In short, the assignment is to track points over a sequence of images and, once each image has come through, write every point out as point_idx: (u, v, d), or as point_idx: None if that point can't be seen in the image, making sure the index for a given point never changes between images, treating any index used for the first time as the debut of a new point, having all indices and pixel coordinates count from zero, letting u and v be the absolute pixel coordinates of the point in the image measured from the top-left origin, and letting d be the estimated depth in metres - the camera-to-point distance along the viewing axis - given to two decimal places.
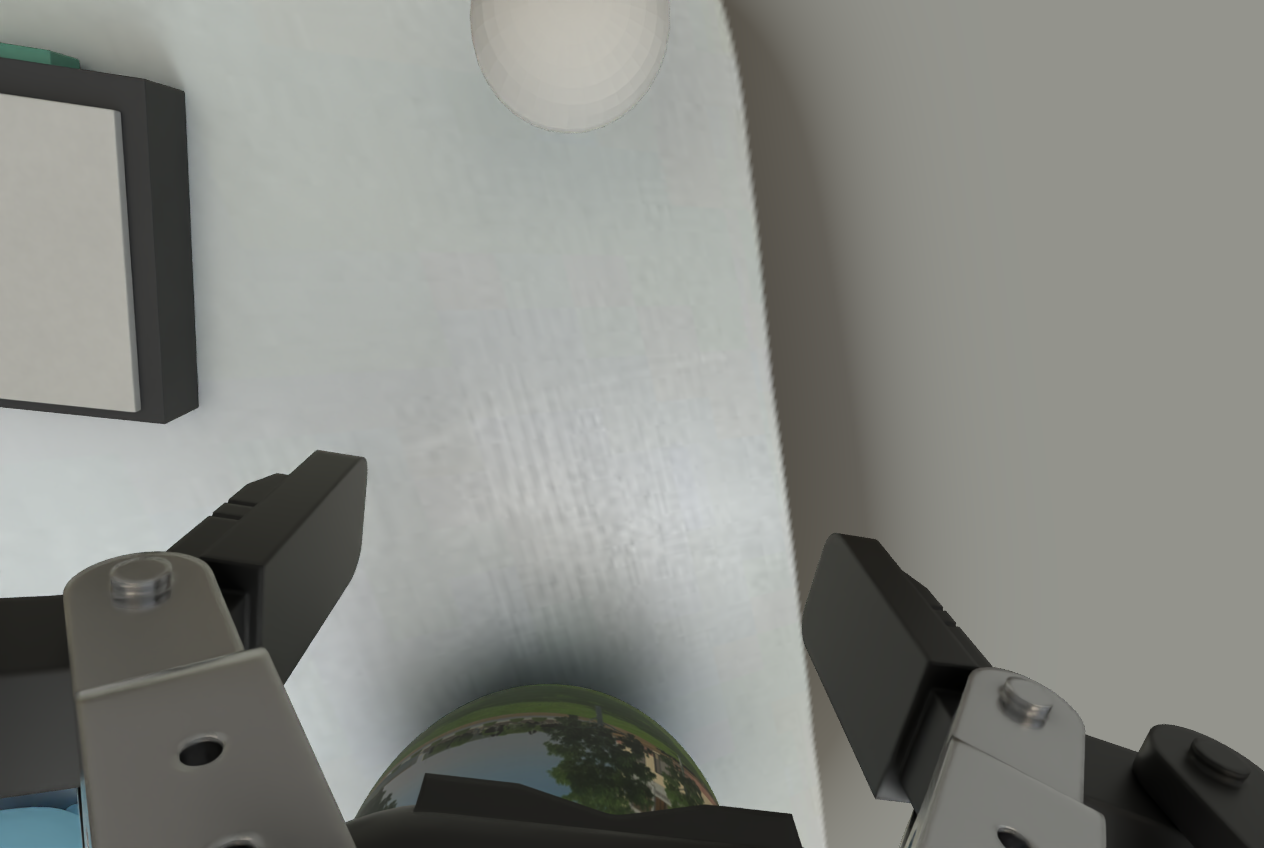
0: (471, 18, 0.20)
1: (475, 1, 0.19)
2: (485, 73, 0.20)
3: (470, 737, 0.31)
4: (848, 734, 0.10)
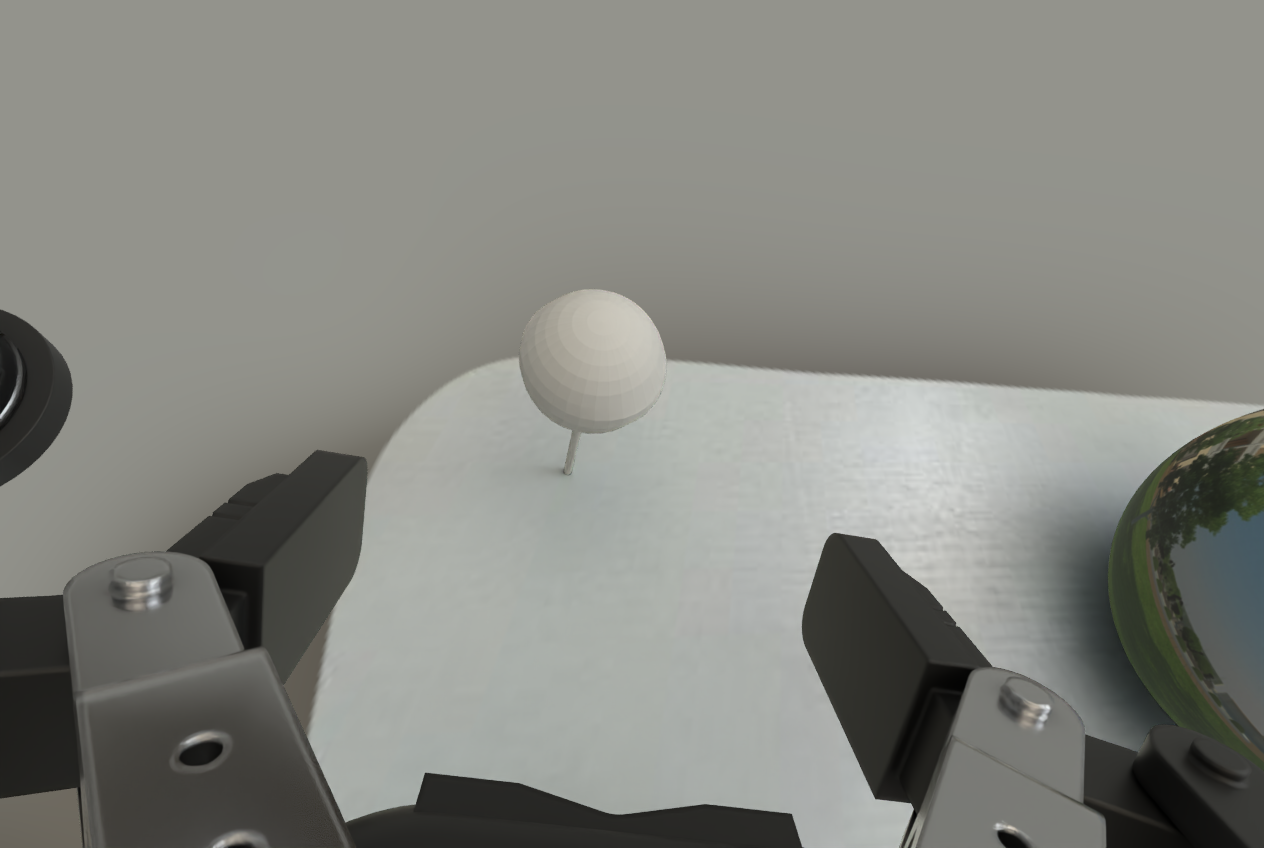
0: (583, 415, 0.26)
1: (576, 404, 0.26)
2: (620, 417, 0.26)
3: (1186, 629, 0.30)
4: (848, 734, 0.10)
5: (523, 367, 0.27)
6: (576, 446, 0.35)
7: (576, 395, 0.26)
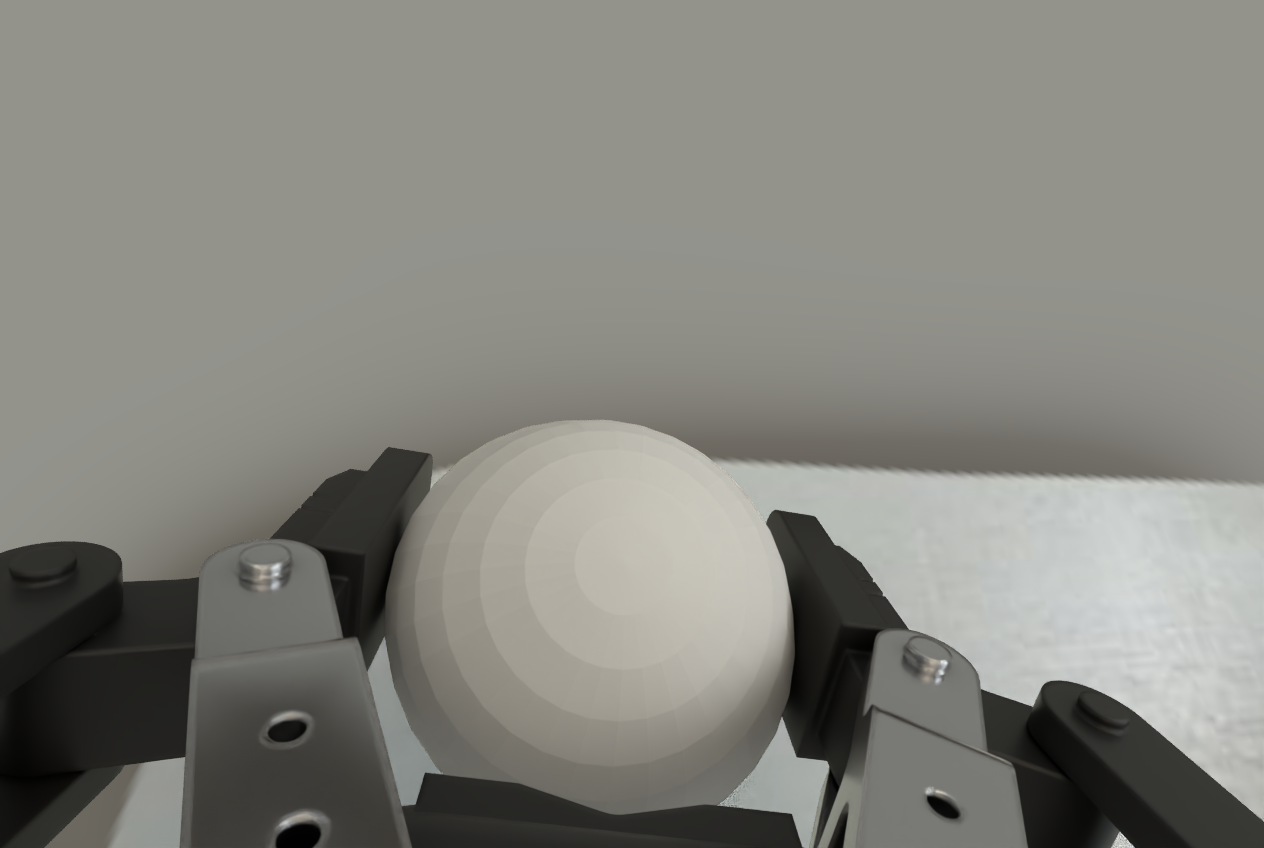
0: None
1: None
2: None
3: None
4: None
5: None
6: None
7: None
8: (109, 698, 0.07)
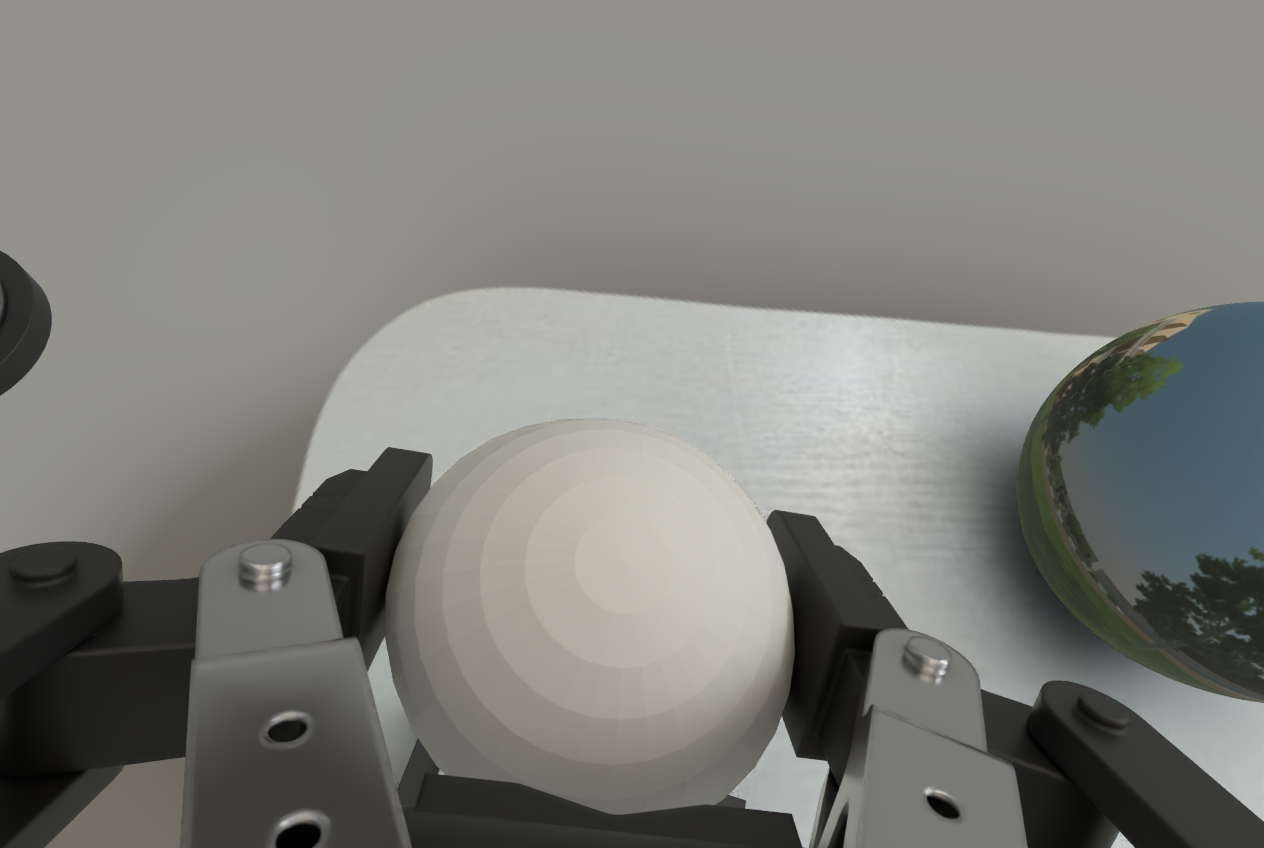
0: None
1: None
2: None
3: (1070, 515, 0.33)
4: None
5: (390, 663, 0.09)
6: None
7: None
8: (109, 698, 0.07)
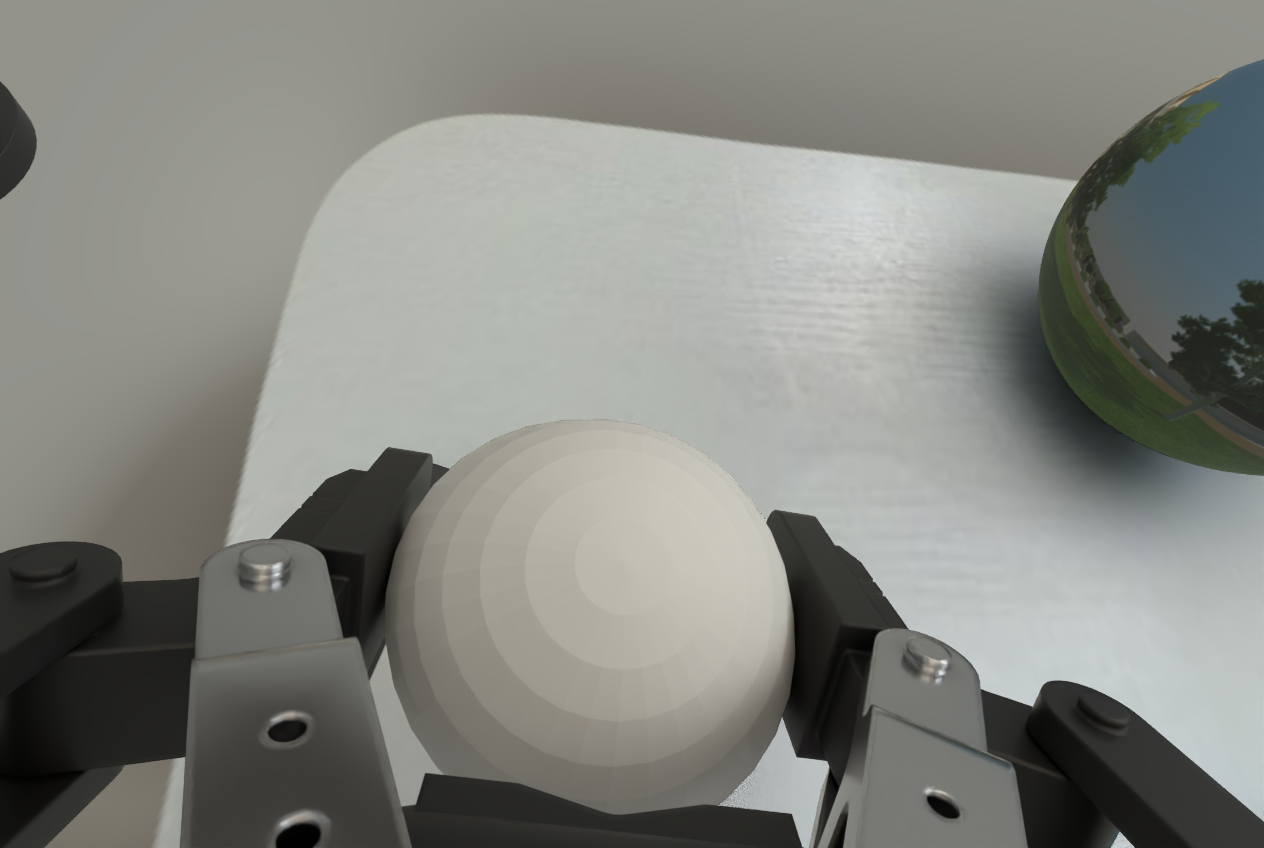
0: None
1: None
2: None
3: (1098, 282, 0.31)
4: None
5: None
6: None
7: None
8: (110, 698, 0.07)
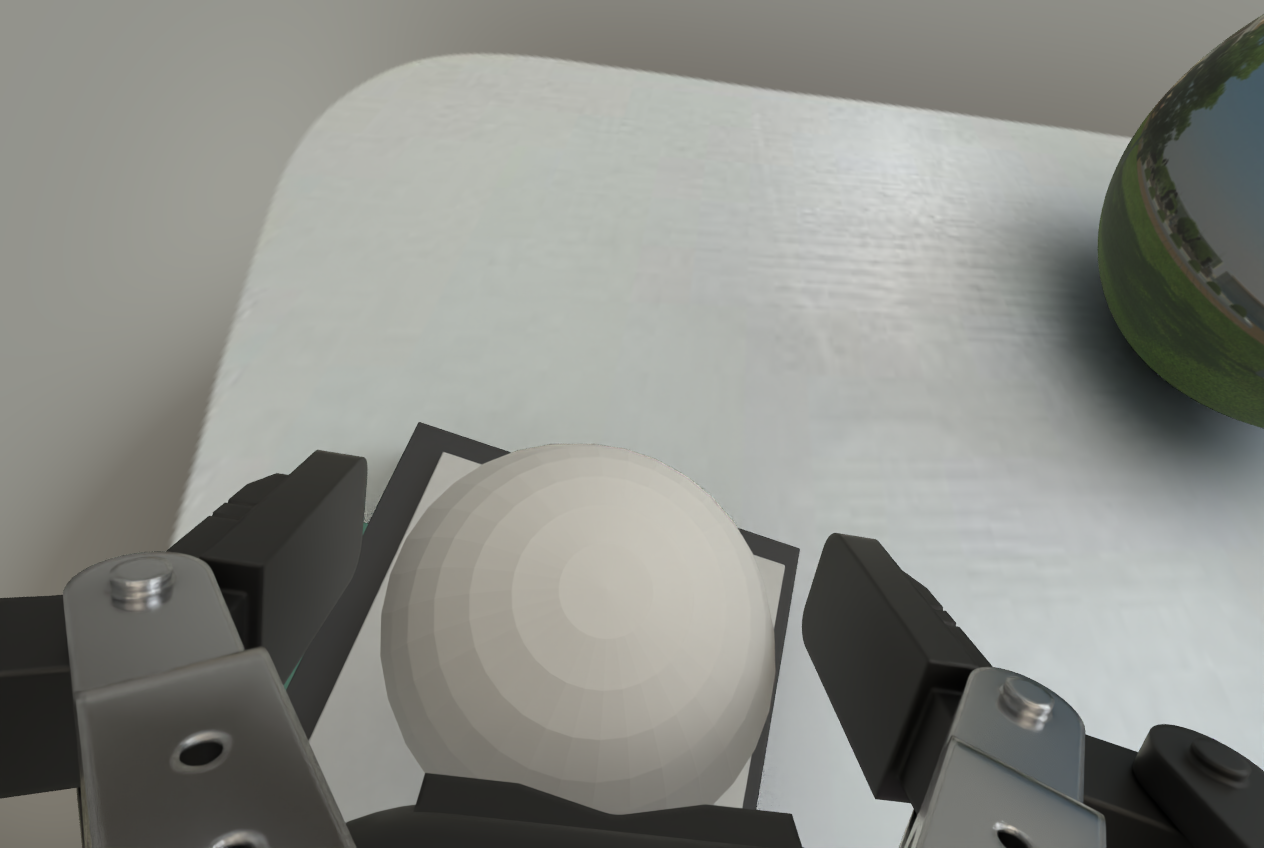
0: None
1: None
2: None
3: (1182, 220, 0.28)
4: (848, 735, 0.10)
5: (385, 682, 0.10)
6: None
7: None
8: None
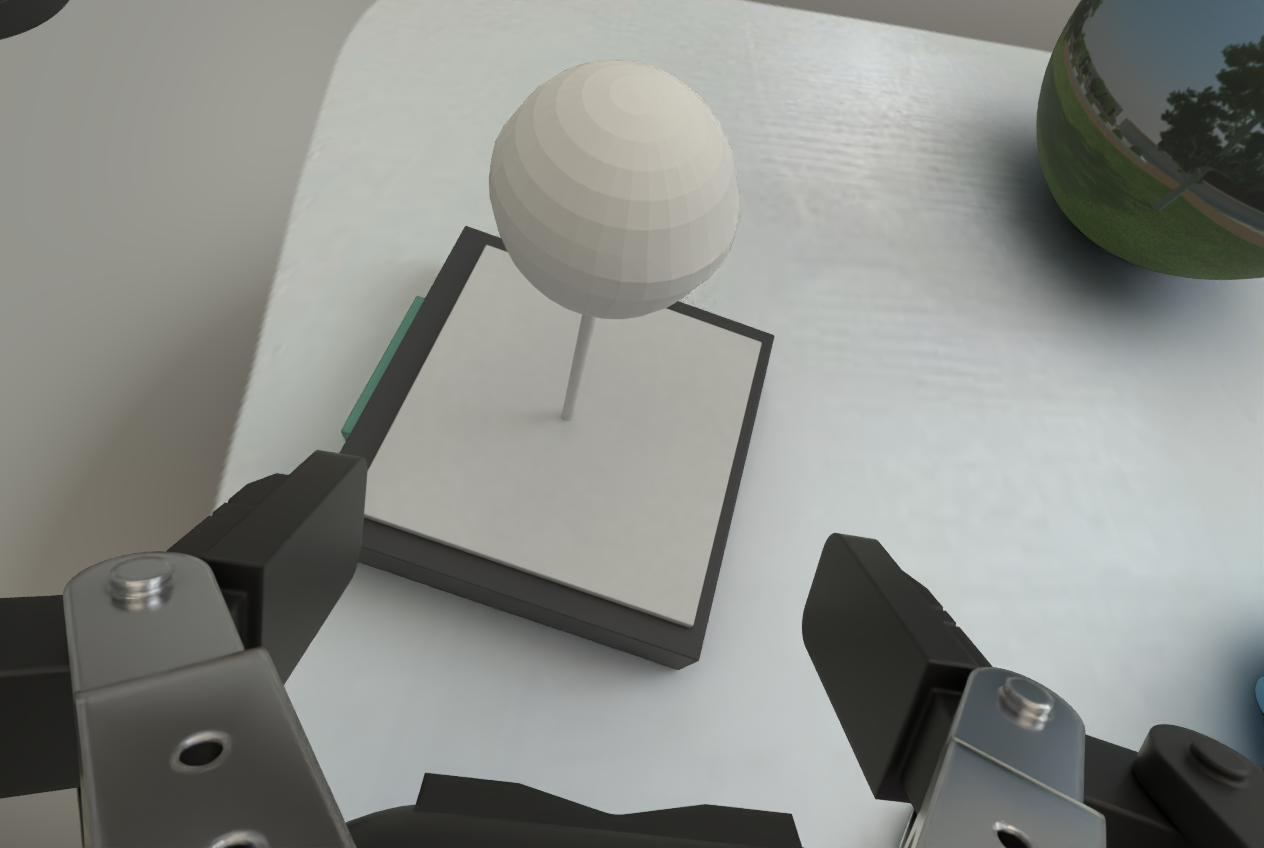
0: (601, 270, 0.15)
1: (590, 247, 0.14)
2: (666, 277, 0.15)
3: (1093, 80, 0.33)
4: (847, 734, 0.10)
5: (495, 192, 0.15)
6: (581, 371, 0.24)
7: (588, 228, 0.14)
8: None
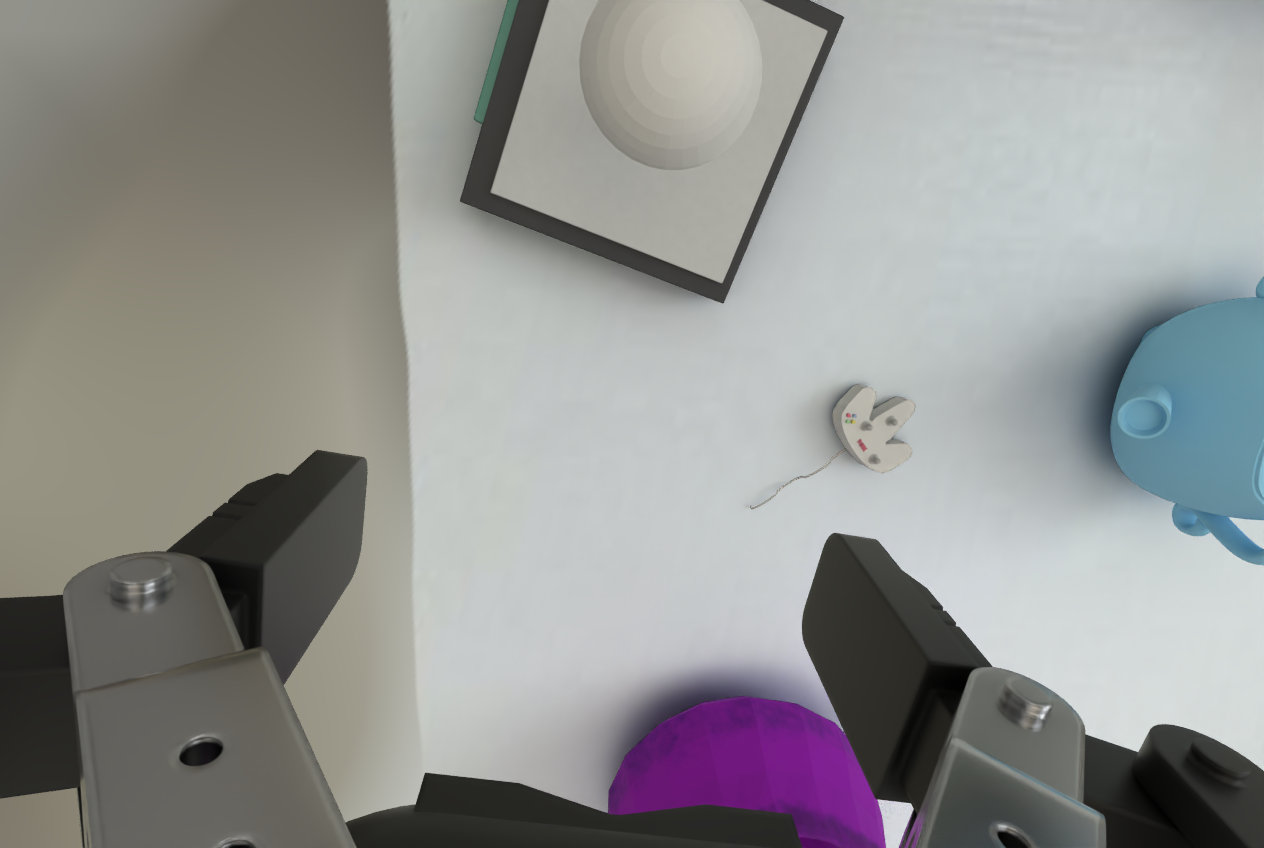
0: (652, 162, 0.23)
1: (645, 153, 0.22)
2: (695, 163, 0.23)
3: None
4: (847, 734, 0.10)
5: (584, 90, 0.22)
6: None
7: (644, 145, 0.22)
8: None
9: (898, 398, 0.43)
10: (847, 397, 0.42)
